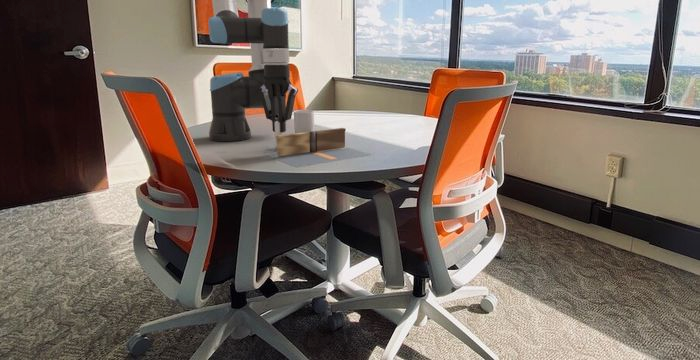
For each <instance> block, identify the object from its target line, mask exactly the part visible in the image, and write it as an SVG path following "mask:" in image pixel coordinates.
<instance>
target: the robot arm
mask: <svg viewBox="0 0 700 360" xmlns="http://www.w3.org/2000/svg"><path fill="white" fill-rule="evenodd" d="M245 1H246V3H247V5H246V6H247V15H248V17H242V16H241V17H240V16H239V10H238V6H237V0H211V4H212V11H213V16H211V17H209V18H208V33H209V40H210V42H211V43H213V44H214V43H215V44H216V43H217V44H250V54H251V55H250V56H251V57H250V59H251V67H250V69H249V70H248V71H247V72H248V75H247V76H244V74H243V72H229V73H224V74H223V73H222V74H218V75H213V76H212V77H211V78H210V80H209V85H210V86H209V91H210V96H211V97H210V98H211V99H210V100H211V111H212V112H211V113H212V119H211V123H210V126H209V130H208V139H209V140H211V141H216V142H237V141H244V140H248V139H251V138H252V130H251V128H250V125H249V123H248V120H247V118H246V110H247V109H248V110H249V109H252V110H253V109H263V110H264V114H265V115H264V116H265V119H266V120H270V121H271V123H272V124H271V125H272V126H271V127H272V131H273V132H274V138H275V139H274V142H275V144H277V138H276V136H277V135H285V133H286V130H287V126H286V125H287V122H288V121H289V120H291V119H292V116H293V113H294V106H295V101H296V100H295V99H296V96H297V94H298V93H299V89H298V88H297V87H294V86H293V85H292V82H291V80H290V77H291V76H290V75H291V72H290V71H291V69H290V64H288V63H290V48H289V46H290V45H289V17H288V11H287V10H286V9H285V8H279V7H278V8H277V7H272V0H245ZM287 93H288V95H287Z"/></svg>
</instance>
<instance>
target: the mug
mask: <svg viewBox="0 0 700 360" xmlns="http://www.w3.org/2000/svg"><path fill="white" fill-rule="evenodd" d="M293 126H294V133H303V132H311V131H314V132H315V110H311V109H298V110H293Z"/></svg>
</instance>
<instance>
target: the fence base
mask: <svg viewBox="0 0 700 360" xmlns="http://www.w3.org/2000/svg"><path fill="white" fill-rule="evenodd" d="M309 133H310V135H309V136H310V152H311V153H314V152H316V151H324V150H331V149H338V148H344V147H346V128H345V127H338V128H330V129H320V130H314V131H311V132H309Z"/></svg>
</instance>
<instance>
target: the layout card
mask: <svg viewBox="0 0 700 360" xmlns="http://www.w3.org/2000/svg"><path fill="white" fill-rule="evenodd" d="M262 155H265V156H267V157H270V158H272V159H275V160H277V161H280V162H282V163H284V164H286V165H289V166H291V167H295V168H302V167H305V166H312V165H318V164H325V163H330V162H331V163H332V162H337V161H342V160H348V159H349V160H351V159H354V158H362V157H366V156H372V155H373V154H371V153H368V152H365V151H362V150H357V149H354V148H351V147H347V146H345V147H344V148H338V149H331V150H324V151H316V152H314V153H311V152H306V153H299V154H292V155H285V156H277V151H273V152H272V151H271V152H265V153H262Z"/></svg>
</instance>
